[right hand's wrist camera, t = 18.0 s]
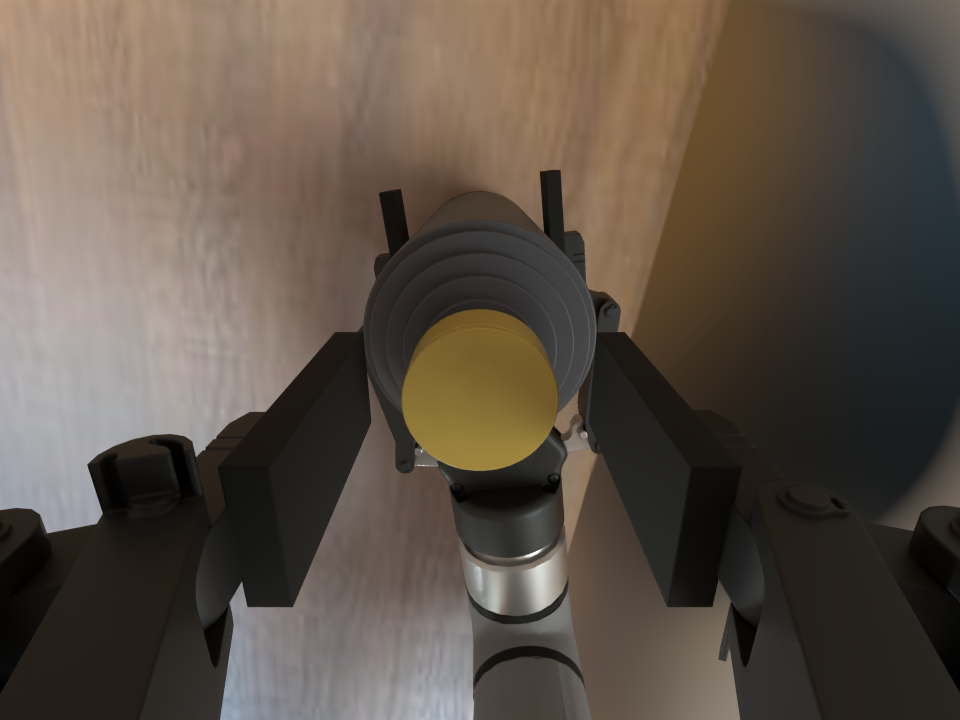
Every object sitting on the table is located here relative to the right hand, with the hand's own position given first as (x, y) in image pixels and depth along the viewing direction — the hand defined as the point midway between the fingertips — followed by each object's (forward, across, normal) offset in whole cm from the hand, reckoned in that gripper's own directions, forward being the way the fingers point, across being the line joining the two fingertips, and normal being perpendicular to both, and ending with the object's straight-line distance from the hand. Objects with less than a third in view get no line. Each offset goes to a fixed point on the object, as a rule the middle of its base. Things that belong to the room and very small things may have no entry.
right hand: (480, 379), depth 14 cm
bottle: (+22, 0, 0) cm, 22 cm away
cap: (-1, 0, 0) cm, 1 cm away
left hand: (+16, +1, -5) cm, 17 cm away
